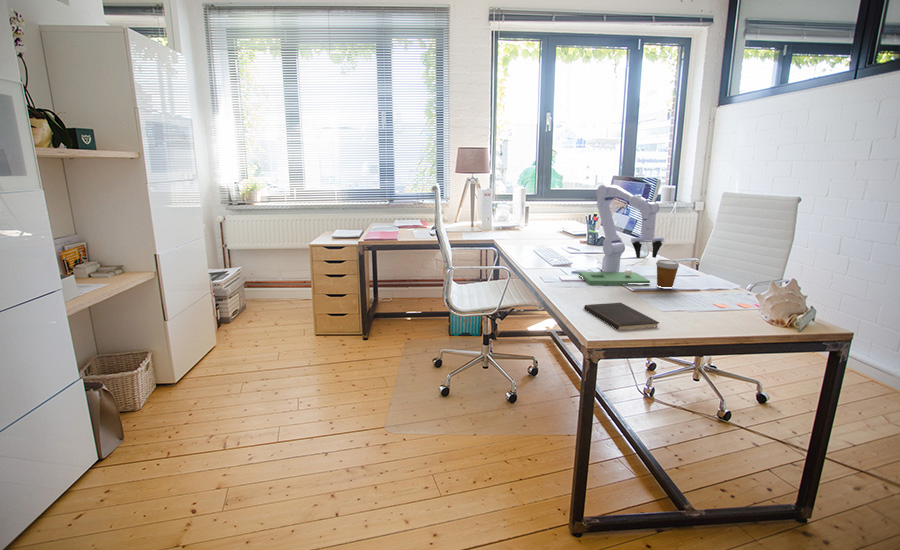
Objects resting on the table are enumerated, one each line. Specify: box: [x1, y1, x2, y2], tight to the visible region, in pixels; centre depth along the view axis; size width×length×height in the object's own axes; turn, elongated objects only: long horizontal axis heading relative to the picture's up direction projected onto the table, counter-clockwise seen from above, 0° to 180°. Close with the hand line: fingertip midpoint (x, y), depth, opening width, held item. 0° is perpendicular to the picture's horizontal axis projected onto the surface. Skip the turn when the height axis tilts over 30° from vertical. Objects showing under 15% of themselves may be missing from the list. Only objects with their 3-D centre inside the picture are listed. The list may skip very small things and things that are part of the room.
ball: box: [624, 268, 633, 277], centre depth 225 cm, size 4×4×4 cm
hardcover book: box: [583, 302, 660, 331], centre depth 174 cm, size 16×23×2 cm
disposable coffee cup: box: [655, 259, 680, 288], centre depth 213 cm, size 10×10×12 cm
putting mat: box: [578, 271, 651, 286], centre depth 225 cm, size 16×28×2 cm, turn 93°
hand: (646, 257), depth 222 cm, fingers open, 7 cm apart
